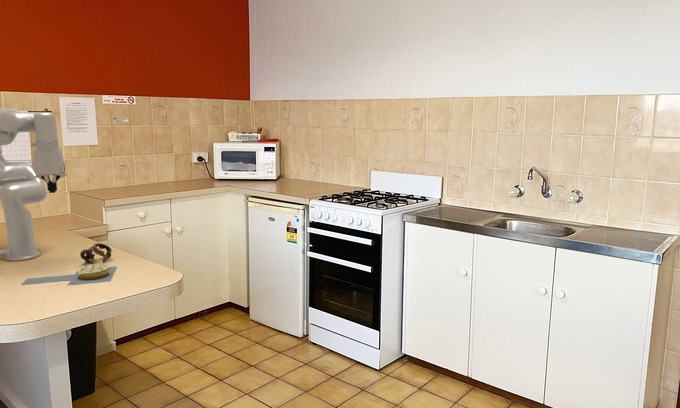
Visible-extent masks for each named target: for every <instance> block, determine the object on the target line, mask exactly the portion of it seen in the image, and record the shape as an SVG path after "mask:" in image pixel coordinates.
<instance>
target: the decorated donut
mask: <svg viewBox="0 0 680 408" xmlns="http://www.w3.org/2000/svg"><path fill="white" fill-rule="evenodd" d="M109 267H110V265H109V264H106V263H103V262H102V263H101V262H100V263H99V262H98V263H91V264H86V265H84V266H82V267H80V268H79V269H78V271H77V270H76V272H78V277H79V278H81V279H96V278H101V277H104V276H106V275H107V274H108V272H109V271H110V269H109Z"/></svg>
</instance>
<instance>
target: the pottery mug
mask: <svg viewBox="0 0 680 408" xmlns="http://www.w3.org/2000/svg"><path fill="white" fill-rule="evenodd" d="M104 249H105V250H106V253H105V251H104ZM112 250H113V249H112V248H111V247H110V246H108V245H107V244H104V243H98V242H96V243H93V245H92V246H90V247H89V248H87V249H83V250H81V251H80V258H81V259H82V260H84V261H85V263H89V262H90V260H94V259H95V256H96V255H97V256H98V255H99V256H101V257H102V261H101V262H102V263H104V262H105V263H107V262H108V260H109V259H110V258H111V257H112Z"/></svg>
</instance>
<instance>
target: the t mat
mask: <svg viewBox="0 0 680 408" xmlns="http://www.w3.org/2000/svg"><path fill="white" fill-rule="evenodd" d="M117 268H118V266H117V265H116V266H109V269H110V271H109V272H108V274H107V275H106V276H104V277H101V278H96V279H81V278H79V277H78V272H77V271H78V270H79V269H78V270H76V272H75V273H74V274H65V275H63V274H62V275H54V276H53V275H52V276H42V277H32V278H31V277H29V278H26V279H25V280H24V281H23V282H22V283H21V285H22V286H24V285H34V284H43V283H45V284H46V282H47V283H56V282H66V281H69V282H68V283H67V286H73V285H74V286H75V285H85V284H94V283H96V284H97V283H104V282H105V283H106V282H111V281H112V279H113V277H114V275H115V272H116V270H117Z"/></svg>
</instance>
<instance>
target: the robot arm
mask: <svg viewBox="0 0 680 408" xmlns="http://www.w3.org/2000/svg"><path fill="white" fill-rule="evenodd" d="M19 133H34V142H31V146H32V147H35V149H34V150H33V166H32V165H30V164H29V163H27V162H24V161H16V162H15V161H14V162H9V161H7V160H6V159H5V157H4V156H3V155H2V154H1V153H0V203H1V207H2V211H3V214H4V220H5V221H4V222H5V229H6V236H7V245H8V247H6V248H5V249H4V248H0V255H1V256H2V255H6V256H5V260H7V261H9V262H10V261H11V262H17V261H19V262H21V261H26V260H32V259H34V258H35V259H36V258H38V257H41V256H40V255H41V251H40V250H37V249H36V242H35V232H34V226H33V217H32V214H31V212H30V210H29V209H27V207H26V206H25V205H28V204H35V203H41V202H43V201H44V200H45V199H46V198H47V197H48V192H49V194H55V193H57V191H58V185H57V182H58V180H60V179H62V178H65V177H67V173H66V165H65V159H64V155H63V152H62V148H60V147H59V137H58V129H57V119H56V115H55V114H54V113H53V112H41V111H39V112H38V111H34V112H33V111H24V112H23V111H20V109H17V108H14V107H0V146H8V145H11V144H12V143H13V142H14V141H15V139H16V137H17V135H18V134H19ZM50 176H52V177H50ZM51 178H52V180H51ZM43 181H44V182H45V183H46V185H47V186H46V185H45V184H44V182H43ZM46 187H47V188H46Z"/></svg>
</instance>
